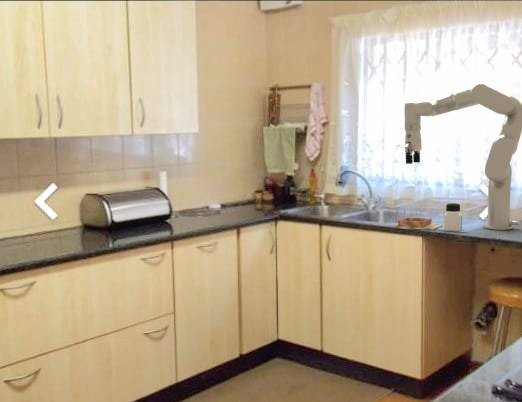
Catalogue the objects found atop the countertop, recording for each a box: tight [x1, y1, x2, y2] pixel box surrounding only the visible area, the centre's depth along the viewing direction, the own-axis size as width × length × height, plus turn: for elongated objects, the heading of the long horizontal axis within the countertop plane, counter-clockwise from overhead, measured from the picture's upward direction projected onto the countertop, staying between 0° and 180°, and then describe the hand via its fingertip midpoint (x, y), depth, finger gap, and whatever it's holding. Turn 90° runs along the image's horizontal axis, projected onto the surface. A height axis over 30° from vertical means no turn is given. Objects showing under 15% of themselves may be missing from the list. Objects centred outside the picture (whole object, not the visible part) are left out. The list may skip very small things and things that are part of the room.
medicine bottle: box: [443, 202, 463, 232], centre depth 295 cm, size 7×7×12 cm
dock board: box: [395, 216, 444, 232], centre depth 304 cm, size 18×14×4 cm
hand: (412, 163), depth 313 cm, fingers open, 9 cm apart
